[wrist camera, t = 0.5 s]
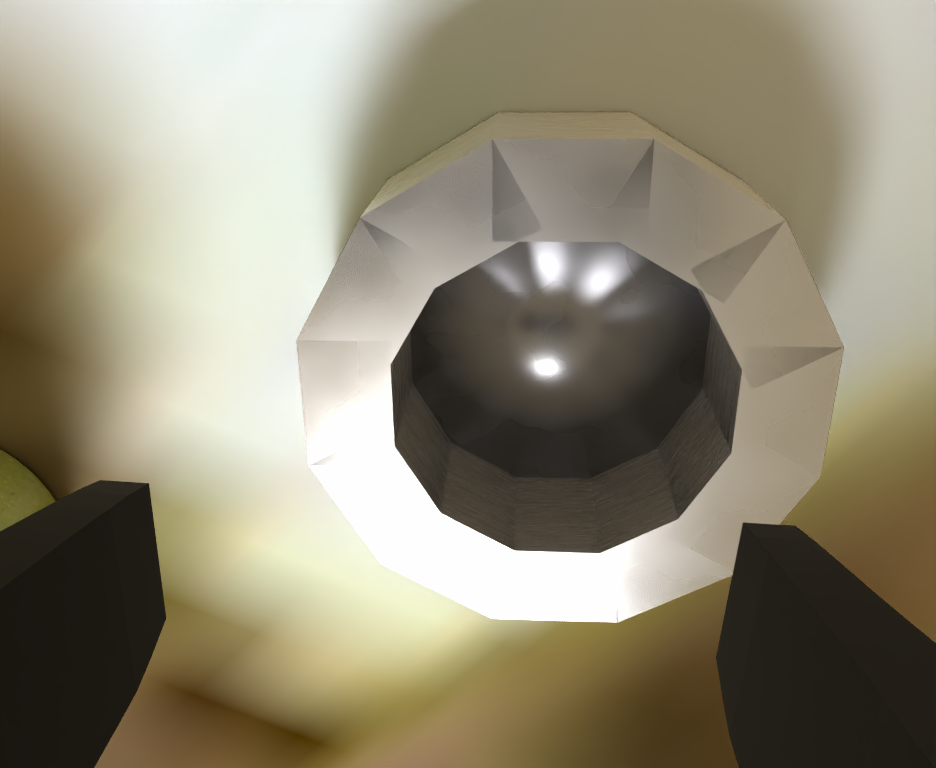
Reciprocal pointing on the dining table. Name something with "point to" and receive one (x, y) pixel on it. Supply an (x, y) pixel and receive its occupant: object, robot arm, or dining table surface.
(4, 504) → the plant pot
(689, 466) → the faceted ring
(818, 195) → the dining table surface
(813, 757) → the robot arm
